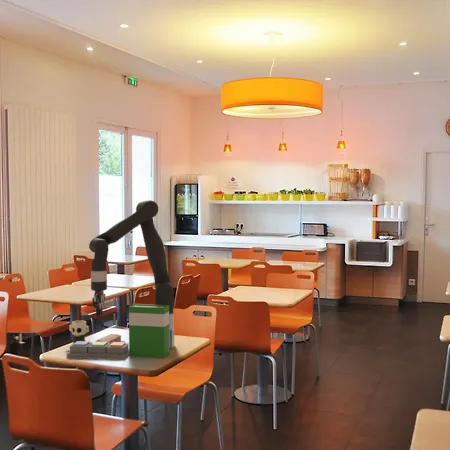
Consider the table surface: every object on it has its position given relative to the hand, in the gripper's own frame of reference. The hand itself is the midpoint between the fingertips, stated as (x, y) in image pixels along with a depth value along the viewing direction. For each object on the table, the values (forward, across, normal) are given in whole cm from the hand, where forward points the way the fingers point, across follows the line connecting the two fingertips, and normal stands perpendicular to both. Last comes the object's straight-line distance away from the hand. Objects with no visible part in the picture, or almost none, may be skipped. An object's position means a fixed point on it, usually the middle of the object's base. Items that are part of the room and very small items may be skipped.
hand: (99, 315), depth 282 cm
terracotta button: (+15, 0, -9) cm, 18 cm away
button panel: (+19, 0, 0) cm, 19 cm away
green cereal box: (+19, +2, -24) cm, 31 cm away
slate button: (+15, 0, +9) cm, 18 cm away
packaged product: (+20, +19, +2) cm, 27 cm away
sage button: (+15, 0, 0) cm, 15 cm away
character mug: (+19, +14, +15) cm, 28 cm away
